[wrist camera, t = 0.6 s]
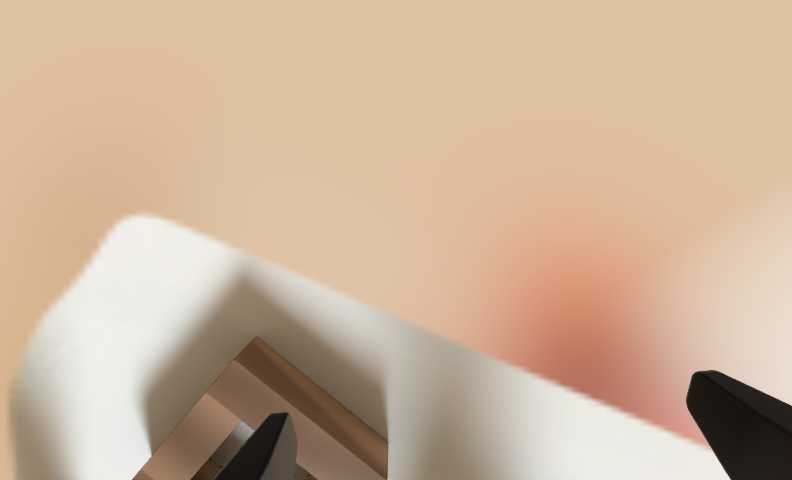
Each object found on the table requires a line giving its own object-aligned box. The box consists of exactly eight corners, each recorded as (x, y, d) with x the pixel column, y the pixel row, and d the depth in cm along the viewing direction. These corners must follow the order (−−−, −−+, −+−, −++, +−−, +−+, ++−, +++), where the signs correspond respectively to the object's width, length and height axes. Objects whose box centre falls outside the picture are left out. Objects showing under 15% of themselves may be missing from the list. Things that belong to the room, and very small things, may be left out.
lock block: (282, 557, 27) (266, 611, 23) (152, 459, 26) (114, 500, 22) (388, 442, 26) (387, 480, 22) (256, 336, 25) (234, 359, 22)
